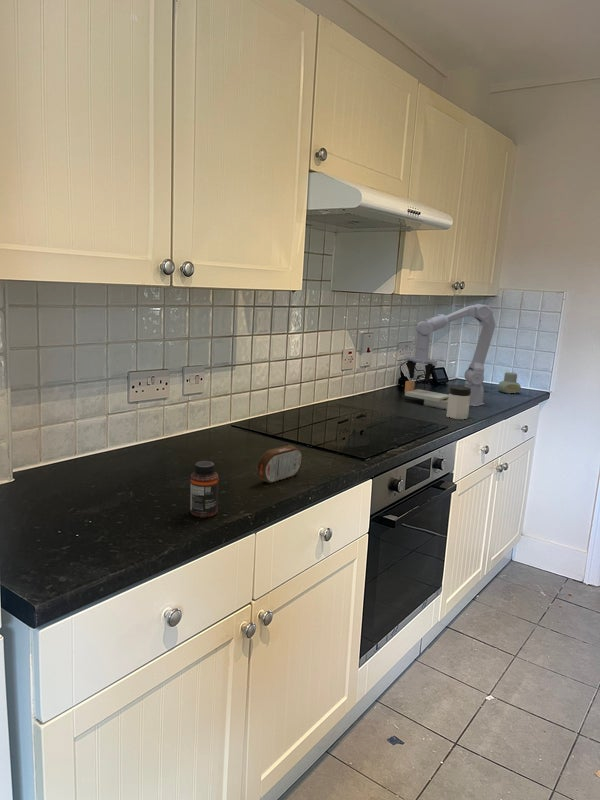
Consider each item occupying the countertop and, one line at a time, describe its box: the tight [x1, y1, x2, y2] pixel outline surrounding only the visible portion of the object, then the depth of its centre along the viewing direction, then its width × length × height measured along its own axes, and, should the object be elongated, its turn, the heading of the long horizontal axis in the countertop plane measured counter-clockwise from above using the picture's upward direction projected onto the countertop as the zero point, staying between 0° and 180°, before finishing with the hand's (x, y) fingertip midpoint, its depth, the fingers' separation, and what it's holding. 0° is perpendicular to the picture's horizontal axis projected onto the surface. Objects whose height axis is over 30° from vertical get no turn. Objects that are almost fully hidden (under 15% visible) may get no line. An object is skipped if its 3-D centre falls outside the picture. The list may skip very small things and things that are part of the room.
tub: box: [423, 398, 448, 411], centre depth 259 cm, size 10×16×4 cm, turn 50°
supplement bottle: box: [189, 460, 219, 518], centre depth 130 cm, size 6×6×11 cm
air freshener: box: [497, 371, 522, 394], centre depth 303 cm, size 11×8×10 cm
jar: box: [445, 385, 471, 420], centre depth 240 cm, size 9×8×12 cm
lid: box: [404, 380, 449, 402], centre depth 265 cm, size 11×19×6 cm, turn 50°
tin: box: [256, 444, 304, 484], centre depth 155 cm, size 15×3×8 cm, turn 139°
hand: (419, 379), depth 267 cm, fingers open, 7 cm apart
